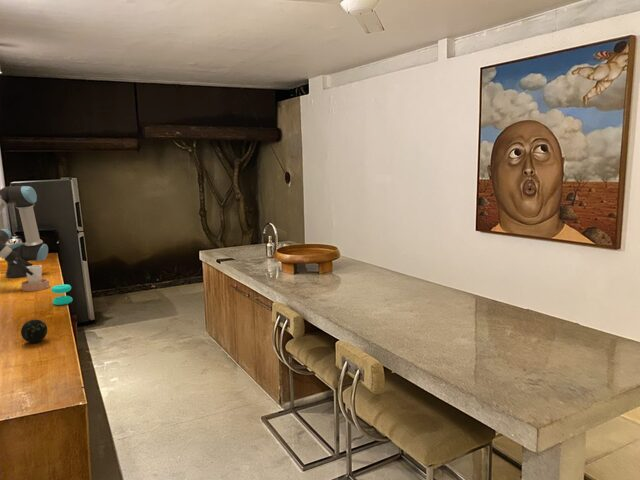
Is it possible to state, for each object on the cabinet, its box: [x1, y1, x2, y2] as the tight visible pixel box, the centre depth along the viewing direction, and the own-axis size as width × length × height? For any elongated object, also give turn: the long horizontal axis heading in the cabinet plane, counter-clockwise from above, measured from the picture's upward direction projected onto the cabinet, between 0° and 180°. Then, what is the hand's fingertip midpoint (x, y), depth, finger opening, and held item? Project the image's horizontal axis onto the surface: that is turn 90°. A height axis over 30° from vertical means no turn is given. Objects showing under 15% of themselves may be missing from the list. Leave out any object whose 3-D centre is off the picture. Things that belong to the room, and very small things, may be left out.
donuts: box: [50, 284, 74, 306], centre depth 277 cm, size 10×10×10 cm
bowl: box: [21, 278, 50, 292], centre depth 314 cm, size 15×15×4 cm
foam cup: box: [26, 264, 43, 284], centre depth 313 cm, size 10×9×13 cm
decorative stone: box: [20, 319, 48, 344], centre depth 216 cm, size 10×10×10 cm
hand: (38, 275), depth 314 cm, fingers open, 13 cm apart
